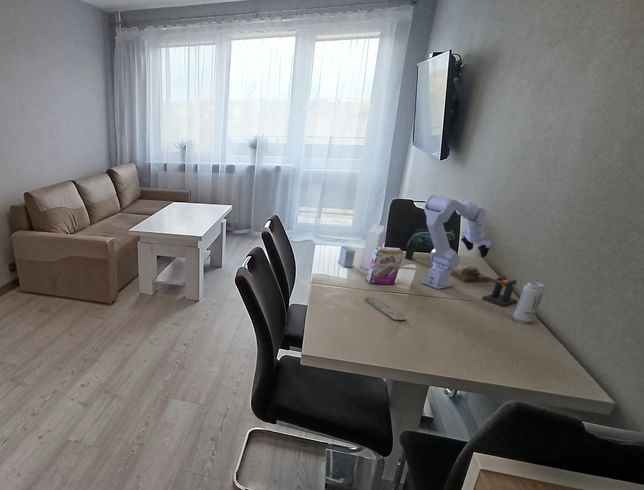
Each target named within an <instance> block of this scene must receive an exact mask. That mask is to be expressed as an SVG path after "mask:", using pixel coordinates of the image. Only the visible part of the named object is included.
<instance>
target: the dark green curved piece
mask: <svg viewBox="0 0 644 490" xmlns="http://www.w3.org/2000/svg"><path fill="white" fill-rule="evenodd" d="M419 231H420V232H419ZM445 232H446V236H447V239H448V242H449V246H450V245H452V243H453V242H454V241H455V238H456V235H455V230H453V229H452V230H451V231H445ZM433 249H434V245H433V242H432V239H431V236H430V233H429V229H423V228H421V229H417V230H415V231H414V232H413V233H412V235H411V237H410V239H409V240H408V242H407V245H406V248H405V257H404V258H405V259H406V260H413V256H414V253H415V252H417V251H419V250H420V251H421V250H424V251H425V250H426V251H429V252H432V250H433Z"/></svg>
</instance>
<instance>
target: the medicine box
mask: <svg viewBox="0 0 644 490" xmlns="http://www.w3.org/2000/svg"><path fill="white" fill-rule="evenodd" d="M355 255H356V250H355V249H353V248H352V247H351V246H349V245H342V246H341V247H340V251H339V257H338V263H339V264H340V265H341V266H342V267H343V268H353V266H354V259H355Z"/></svg>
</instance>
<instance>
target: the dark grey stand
mask: <svg viewBox="0 0 644 490" xmlns="http://www.w3.org/2000/svg"><path fill="white" fill-rule="evenodd" d="M496 280H499V281H502V280H507V277H506V276H500V277H497V278H496ZM507 281H508V283H507V286H506V287H505V289H504V291H503V294H502V290H503V287H504V286H502V285H500V284H497V283H494V287H493V289H492V292H491V294H487V295H483V296H482V300H484V301H487V302H489V303H492V304H495V305H497V306H501V307H502V308H503V307H507V306H509V305H513V304H515V303H518V299H517V298H513V297H512V294H513V292H514V289H515V286H516V285H517V280H516V279H513V280H507Z"/></svg>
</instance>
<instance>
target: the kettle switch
mask: <svg viewBox="0 0 644 490" xmlns="http://www.w3.org/2000/svg"><path fill="white" fill-rule="evenodd" d="M508 281H509V280H507V279H505V280H502V281H499V280H497V279H495V278H491V277H489V278H488V281H487V282H491V283H494V284H496V283H497V284H500V285H502V286H503V287H505V288H506V286H507V283H508Z"/></svg>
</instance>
